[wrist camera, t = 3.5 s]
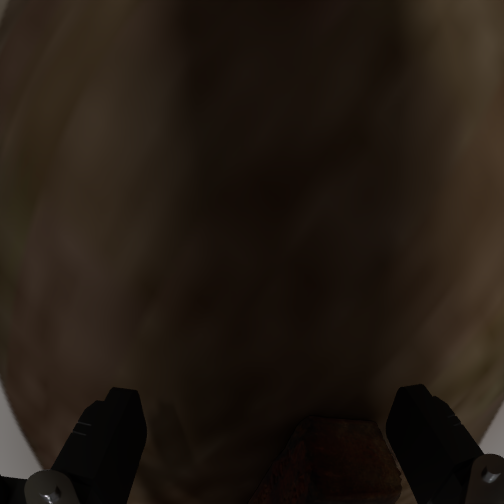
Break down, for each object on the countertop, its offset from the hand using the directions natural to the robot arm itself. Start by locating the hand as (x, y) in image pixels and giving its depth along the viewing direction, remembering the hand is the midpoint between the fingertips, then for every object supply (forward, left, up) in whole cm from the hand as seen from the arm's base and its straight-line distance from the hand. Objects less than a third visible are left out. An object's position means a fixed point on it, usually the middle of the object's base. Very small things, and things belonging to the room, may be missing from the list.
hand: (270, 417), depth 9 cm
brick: (+8, +2, -3) cm, 9 cm away
